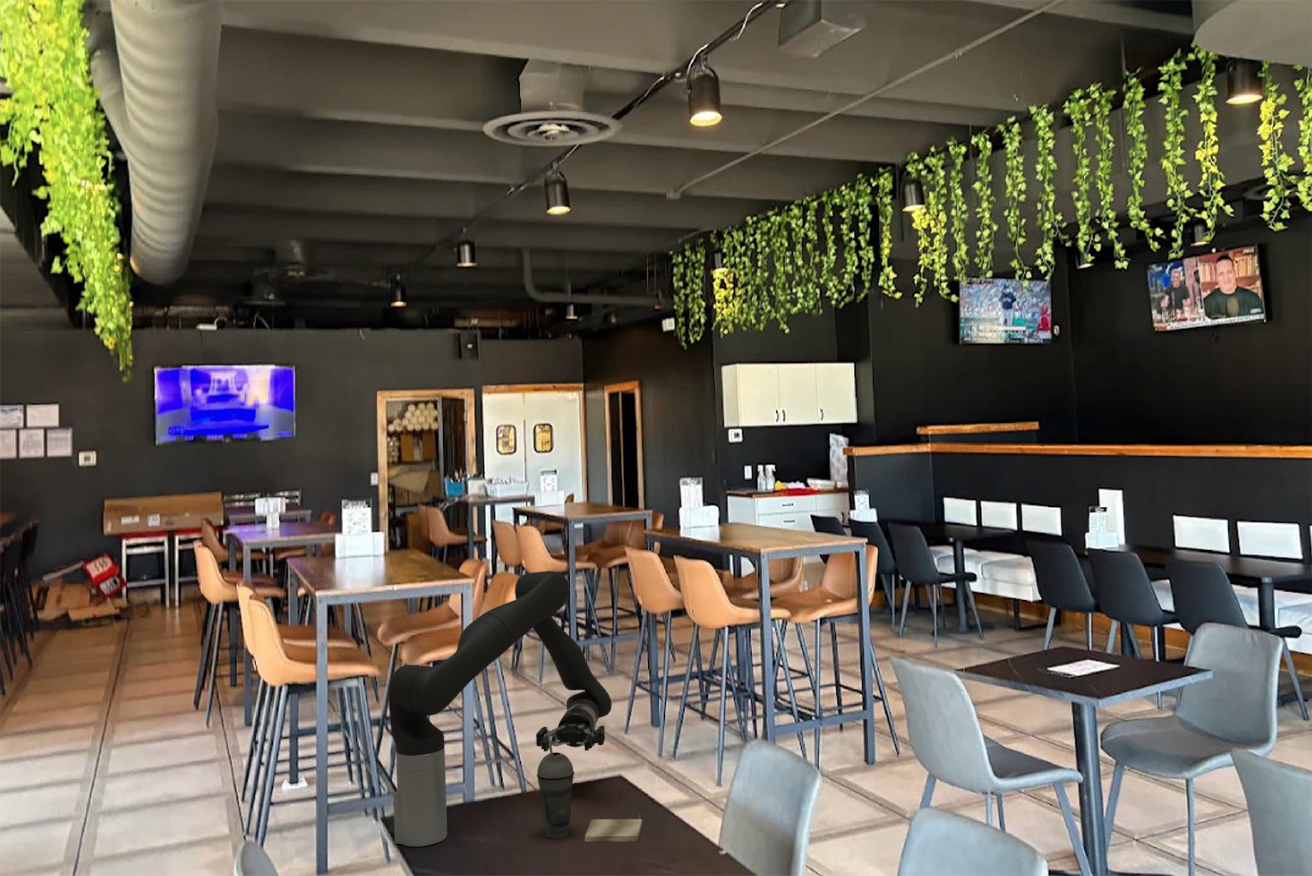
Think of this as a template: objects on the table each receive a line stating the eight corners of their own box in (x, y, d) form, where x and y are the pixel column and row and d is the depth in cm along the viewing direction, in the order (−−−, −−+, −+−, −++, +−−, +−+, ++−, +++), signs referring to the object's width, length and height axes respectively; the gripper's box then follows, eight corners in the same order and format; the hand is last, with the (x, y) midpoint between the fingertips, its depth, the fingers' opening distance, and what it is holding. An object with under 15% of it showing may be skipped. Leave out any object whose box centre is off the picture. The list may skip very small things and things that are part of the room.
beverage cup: (570, 842, 193) (566, 735, 194) (533, 840, 195) (530, 735, 195) (580, 828, 200) (577, 725, 201) (545, 826, 202) (541, 725, 202)
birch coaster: (584, 841, 193) (584, 836, 193) (591, 824, 202) (591, 819, 202) (637, 841, 192) (637, 836, 192) (642, 824, 201) (641, 819, 201)
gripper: (545, 708, 226) (530, 728, 210) (609, 706, 225) (599, 727, 209) (546, 742, 226) (532, 765, 210) (610, 741, 225) (600, 764, 209)
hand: (565, 746), depth 209 cm, fingers open, 8 cm apart
